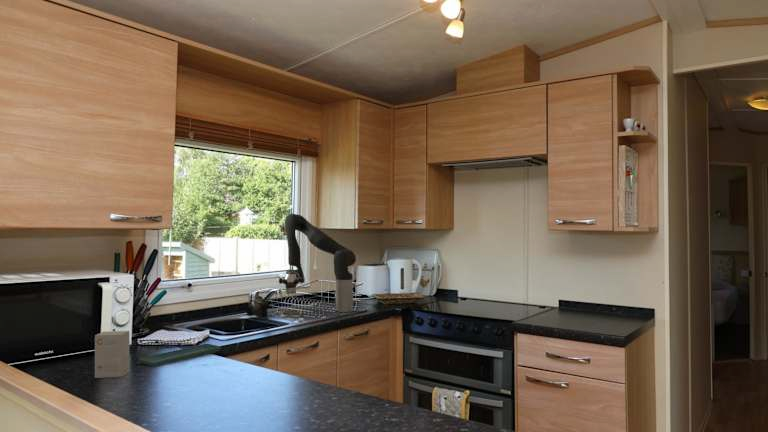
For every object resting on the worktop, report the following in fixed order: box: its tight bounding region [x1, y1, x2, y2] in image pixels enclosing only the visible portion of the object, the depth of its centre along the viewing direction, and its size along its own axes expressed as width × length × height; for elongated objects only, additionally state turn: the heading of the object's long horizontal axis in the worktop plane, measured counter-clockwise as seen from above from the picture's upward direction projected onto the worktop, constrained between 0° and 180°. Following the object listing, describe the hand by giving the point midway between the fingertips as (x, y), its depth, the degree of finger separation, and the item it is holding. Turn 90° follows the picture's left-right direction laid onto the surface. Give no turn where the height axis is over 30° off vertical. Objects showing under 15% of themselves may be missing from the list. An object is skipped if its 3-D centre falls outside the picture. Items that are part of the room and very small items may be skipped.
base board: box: [280, 311, 302, 319], centre depth 270 cm, size 10×10×1 cm
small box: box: [94, 330, 131, 379], centre depth 161 cm, size 8×6×13 cm
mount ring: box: [281, 309, 301, 316], centre depth 270 cm, size 9×9×2 cm
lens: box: [284, 272, 297, 295], centre depth 270 cm, size 6×6×10 cm
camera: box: [246, 295, 269, 320], centre depth 266 cm, size 18×9×10 cm, turn 26°
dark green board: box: [139, 343, 222, 368], centre depth 183 cm, size 26×9×2 cm, turn 143°
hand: (290, 281), depth 268 cm, fingers closed on lens, 5 cm apart
